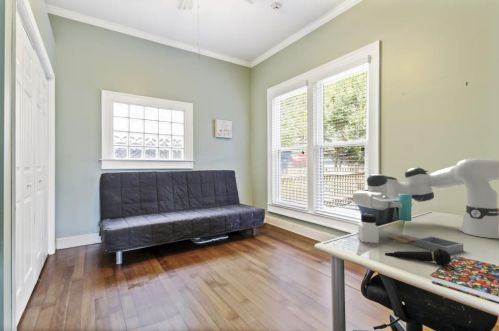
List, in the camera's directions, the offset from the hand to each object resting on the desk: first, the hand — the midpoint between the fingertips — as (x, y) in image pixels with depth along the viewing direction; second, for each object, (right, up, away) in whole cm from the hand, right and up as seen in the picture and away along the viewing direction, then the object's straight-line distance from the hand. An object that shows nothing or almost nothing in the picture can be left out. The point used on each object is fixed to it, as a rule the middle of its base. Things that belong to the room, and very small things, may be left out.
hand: (406, 205), depth 113 cm
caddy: (+7, -16, -10) cm, 21 cm away
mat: (0, -16, +1) cm, 16 cm away
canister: (0, -7, +1) cm, 7 cm away
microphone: (-12, -17, -24) cm, 31 cm away
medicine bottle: (-18, -16, -1) cm, 25 cm away
